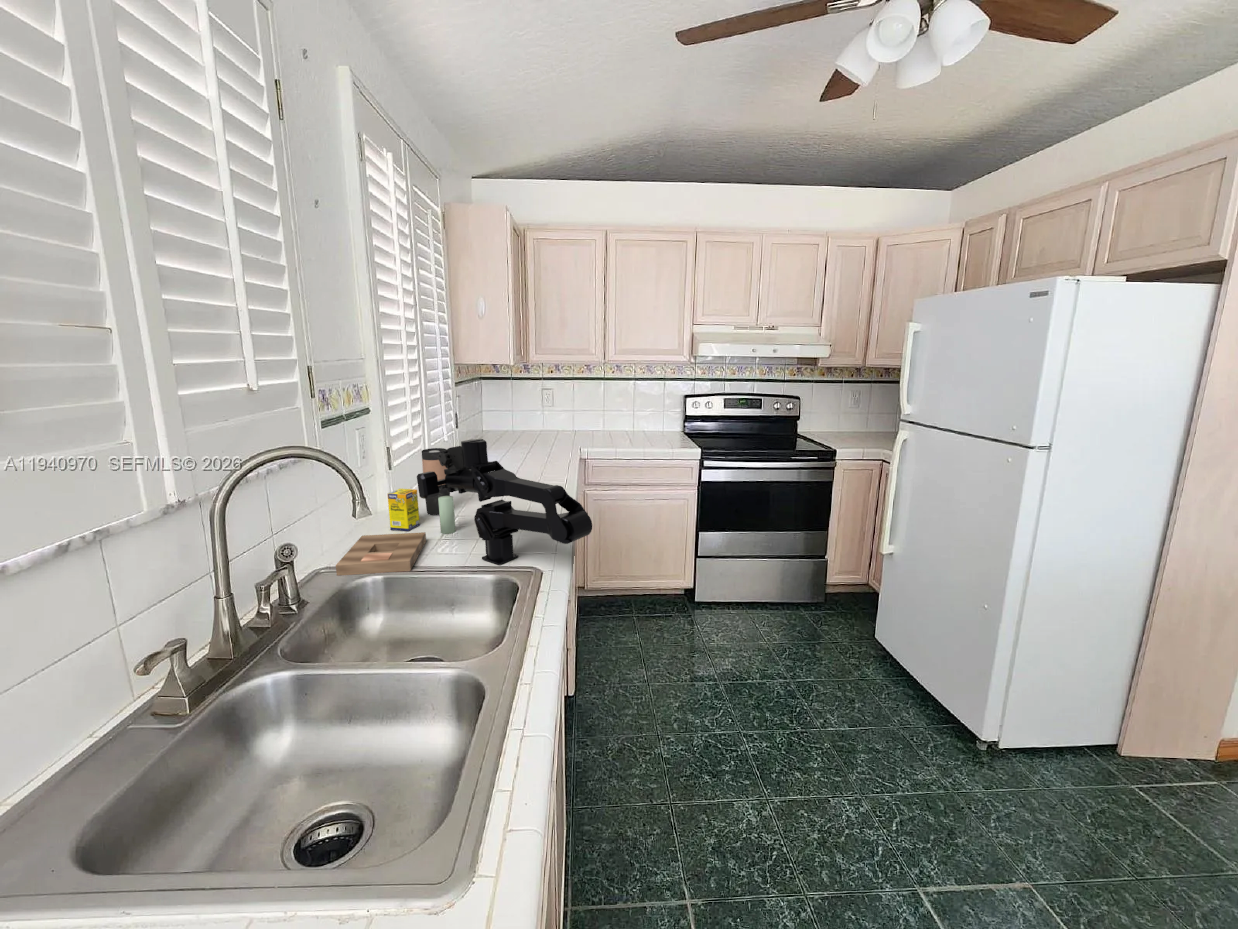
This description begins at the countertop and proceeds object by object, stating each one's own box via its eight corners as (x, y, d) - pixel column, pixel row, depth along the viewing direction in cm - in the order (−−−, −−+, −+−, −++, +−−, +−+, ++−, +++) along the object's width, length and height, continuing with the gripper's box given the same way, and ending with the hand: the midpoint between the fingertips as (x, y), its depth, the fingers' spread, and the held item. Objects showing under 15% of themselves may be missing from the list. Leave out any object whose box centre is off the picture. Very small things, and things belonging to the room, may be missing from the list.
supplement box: (408, 531, 150) (405, 494, 148) (390, 530, 152) (386, 493, 149) (420, 525, 156) (417, 489, 154) (402, 523, 157) (399, 488, 155)
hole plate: (363, 544, 140) (362, 534, 140) (426, 541, 143) (425, 531, 142) (336, 575, 121) (335, 564, 121) (410, 571, 124) (409, 560, 123)
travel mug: (456, 509, 171) (452, 448, 167) (442, 516, 164) (437, 453, 160) (435, 507, 173) (430, 447, 169) (420, 514, 166) (415, 451, 162)
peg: (458, 531, 151) (456, 497, 149) (446, 535, 148) (444, 500, 146) (449, 528, 153) (447, 495, 151) (437, 532, 150) (435, 498, 148)
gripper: (495, 443, 139) (457, 442, 148) (433, 455, 124) (396, 453, 133) (500, 484, 141) (463, 481, 150) (440, 501, 126) (403, 496, 135)
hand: (433, 477), depth 142 cm, fingers open, 9 cm apart
